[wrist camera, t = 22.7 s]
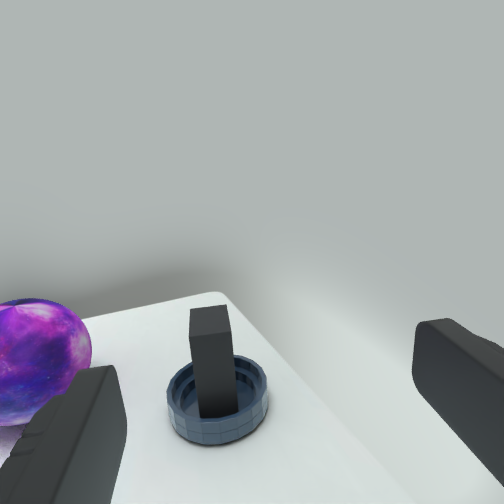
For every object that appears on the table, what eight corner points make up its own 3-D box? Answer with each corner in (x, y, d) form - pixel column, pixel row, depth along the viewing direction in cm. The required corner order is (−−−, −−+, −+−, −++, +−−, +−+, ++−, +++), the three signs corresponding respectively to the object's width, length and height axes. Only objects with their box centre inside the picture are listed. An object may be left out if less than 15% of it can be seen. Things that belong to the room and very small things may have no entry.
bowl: (266, 373, 48) (265, 352, 47) (269, 446, 36) (267, 420, 35) (182, 376, 48) (179, 355, 47) (158, 449, 37) (153, 424, 36)
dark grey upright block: (233, 383, 45) (226, 304, 42) (239, 420, 39) (231, 330, 36) (200, 389, 45) (190, 308, 41) (201, 427, 39) (188, 336, 35)
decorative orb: (27, 473, 35) (-17, 350, 30) (-61, 438, 40) (-110, 328, 36) (124, 380, 48) (104, 285, 44) (49, 363, 53) (24, 276, 49)
